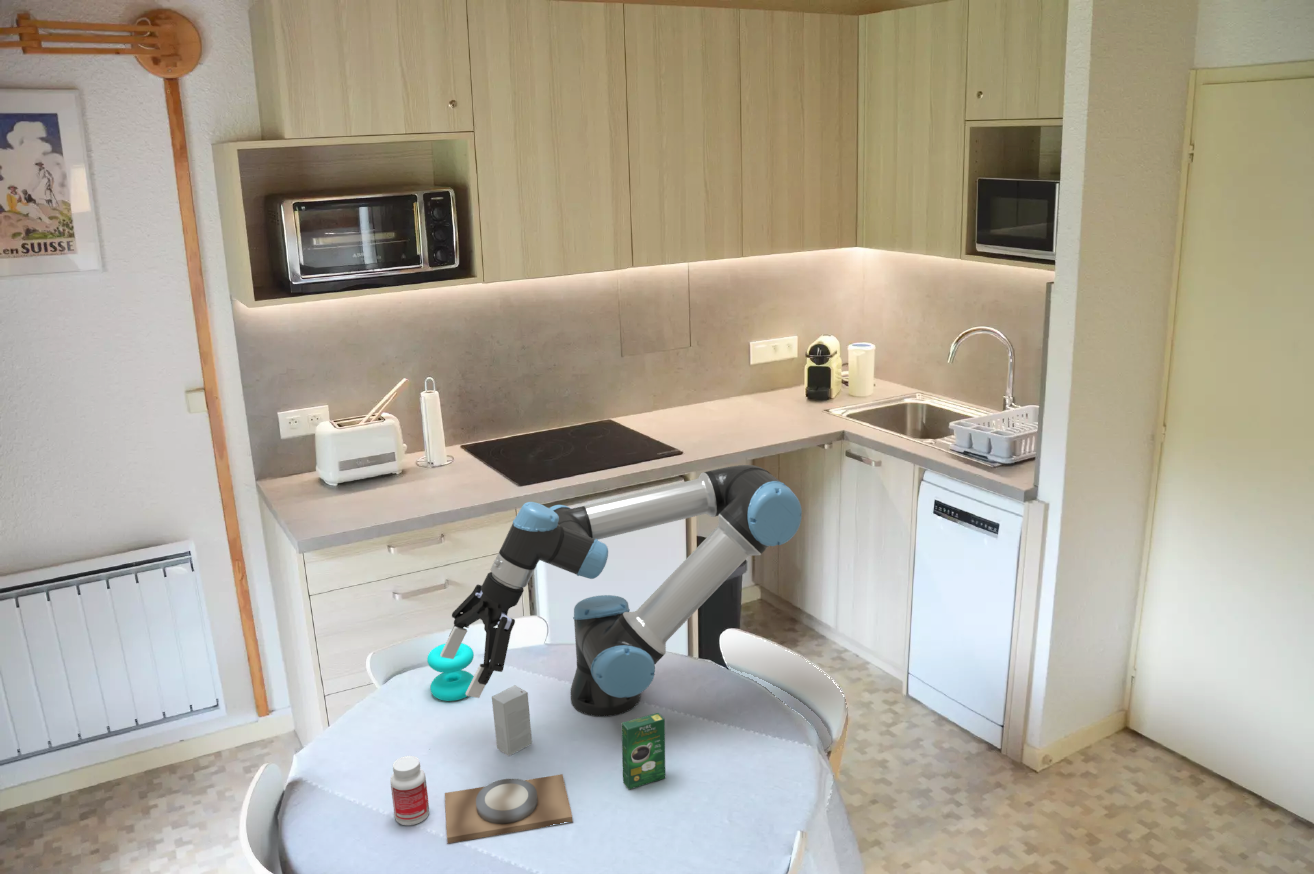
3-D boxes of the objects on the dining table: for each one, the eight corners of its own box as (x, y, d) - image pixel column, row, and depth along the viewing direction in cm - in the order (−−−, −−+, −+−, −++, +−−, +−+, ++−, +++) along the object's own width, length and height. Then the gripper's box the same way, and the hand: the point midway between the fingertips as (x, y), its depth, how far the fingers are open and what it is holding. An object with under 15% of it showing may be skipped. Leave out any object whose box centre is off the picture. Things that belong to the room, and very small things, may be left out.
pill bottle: (434, 818, 187) (428, 765, 184) (402, 831, 184) (395, 777, 180) (422, 800, 192) (416, 749, 188) (390, 813, 189) (383, 760, 185)
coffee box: (660, 770, 198) (658, 710, 195) (667, 778, 196) (665, 717, 192) (622, 782, 195) (619, 721, 191) (628, 791, 193) (625, 729, 189)
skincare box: (519, 736, 211) (515, 684, 208) (532, 744, 208) (528, 691, 205) (495, 748, 207) (490, 696, 204) (508, 757, 204) (503, 703, 201)
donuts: (432, 640, 231) (476, 639, 231) (436, 680, 234) (480, 679, 233) (422, 662, 221) (468, 661, 221) (426, 704, 224) (472, 703, 224)
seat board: (562, 779, 197) (561, 766, 196) (572, 822, 184) (571, 808, 184) (445, 798, 192) (443, 785, 191) (447, 843, 180) (445, 829, 179)
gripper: (466, 545, 203) (420, 638, 205) (517, 608, 183) (466, 710, 186) (497, 554, 208) (452, 645, 210) (551, 616, 188) (500, 715, 191)
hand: (459, 676), depth 198 cm, fingers open, 13 cm apart
